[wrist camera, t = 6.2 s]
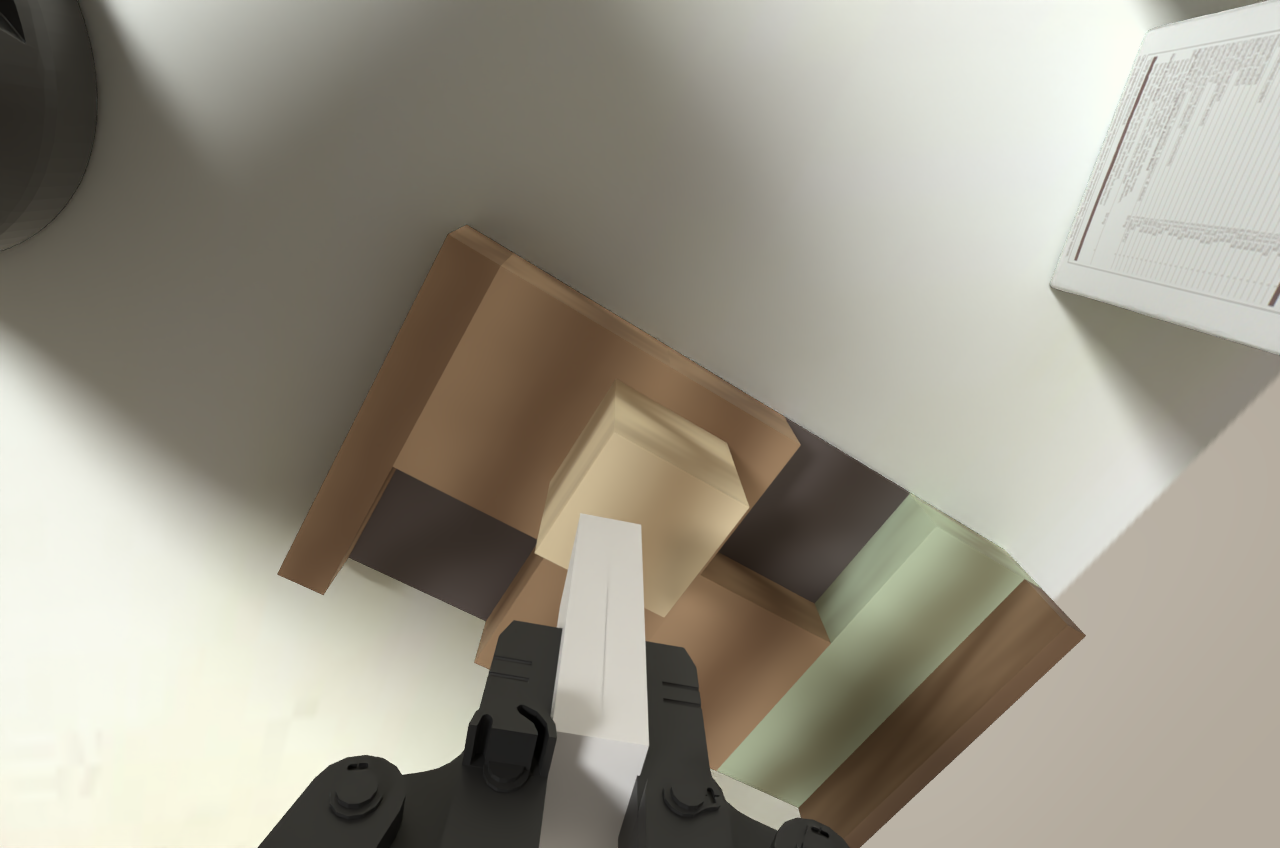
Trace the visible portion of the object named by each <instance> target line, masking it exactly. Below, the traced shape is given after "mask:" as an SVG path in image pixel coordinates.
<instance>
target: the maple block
mask: <svg viewBox="0 0 1280 848" xmlns="http://www.w3.org/2000/svg"><path fill="white" fill-rule="evenodd" d="M748 509H749V505H748V502H747V499H746V496H745V493H744V490H743V487H742V485H741V482H740V479H739V476H738V473H737V470H736V467H735V465H734V462H733V459H732V456H731V453H730V450H729V447H728V445H727V443H726V442H724V441H723V440H721V439H719V438H717V437H716V436H714V435H712V434H711V433H709V432H707V431H705V430H704V429H702V428H700V427H698V426H697V425H695V424H693V423H692V422H690V421H688V420H686V419H685V418H683V417H681V416H679V415H678V414H676V413H674V412H673V411H671V410H669V409H667V408H666V407H664V406H662V405H661V404H659V403H657V402H655V401H654V400H652V399H650V398H648V397H647V396H645V395H643V394H642V393H640V392H638V391H636V390H635V389H633V388H631V387H629V386H628V385H626V384H624V383H623V382H621V381H619V380H617V379H615V381H614V382H613V384H612V386H611V387H610V389H609V390H608V392H607V393H606V395H605V397H604V398H603V400H602V401H601V403H600V404H599V406H598V408H597V409H596V411H595V412H594V414H593V415H592V417H591V418H590V420H589V422H588V423H587V425H586V426H585V428H584V429H583V431H582V433H581V434H580V436H579V437H578V439H577V440H576V442H575V443H574V445H573V447H572V448H571V450H570V451H569V453H568V454H567V456H566V458H565V459H564V461H563V462H562V464H561V465H560V467H559V469H558V470H557V472H556V473H555V475H554V476H553V478H552V479H551V481H550V484H549V489H548V493H547V498H546V502H545V507H544V511H543V516H542V521H541V525H540V530H539V534H538V539H537V544H536V548H535V554H537V555H539V556H541V557H543V558H545V559H547V560H549V561H551V562H553V563H555V564H557V565H559V566H561V567H563V568H565V569H567V570H568V567H569V563H570V558H571V554H572V549H573V545H574V540H575V535H576V531H577V526H578V522H579V517H580V513H582V514H588V515H593V516H598V517H603V518H609V519H614V520H619V521H625V522H630V523H635V524H640V525H641V534H642V562H643V590H644V608H646V609H648V610H650V611H652V612H654V613H656V614H658V615H660V616H662V617H665V616H666V615H667V613H668V612H669V611H670V610H671V608H672V607H673V606H674V604H675V603H676V602H677V601H678V599H679V598H680V597H681V595H682V594H683V593H684V591H685V590H686V589H687V588H688V586H689V585H690V584H691V582H692V581H693V580H694V579H695V577H696V576H697V575H698V573H699V572H700V571H701V569H702V568H703V567H704V566H705V564H706V563H707V562H708V560H709V559H710V558H711V557H712V555H713V554H714V553H715V551H716V550H717V549H718V547H719V546H720V545H721V544H722V542H723V541H724V540H725V538H726V537H727V536H728V535H729V533H730V532H731V531H732V529H733V528H734V527H735V525H736V524H737V523H738V522H739V520H740V519H741V518H742V516H743V515H744V514H745V513H746V511H747V510H748Z"/></svg>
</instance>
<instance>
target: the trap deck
mask: <svg viewBox="0 0 1280 848" xmlns="http://www.w3.org/2000/svg"><path fill="white" fill-rule="evenodd" d="M615 379H617V380H619V381H621V382H623V383H624V384H626V385H628V386H629V387H631V388H633V389H635V390H636V391H638V392H640V393H642V394H643V395H645V396H647V397H648V398H650V399H652V400H654V401H655V402H657V403H659V404H661V405H662V406H664V407H666V408H667V409H669V410H671V411H673V412H674V413H676V414H678V415H679V416H681V417H683V418H685V419H686V420H688V421H690V422H692V423H693V424H695V425H697V426H698V427H700V428H702V429H704V430H705V431H707V432H709V433H711V434H712V435H714V436H716V437H717V438H719V439H721V440H723V441H724V442H726V443H727V445H728V447H729V450H730V453H731V456H732V459H733V462H734V465H735V467H736V470H737V473H738V476H739V479H740V482H741V485H742V487H743V490H744V493H745V496H746V499H747V502H748V505H749V509H748V510H747V511H746V513H745V514H744V515H743V516H742V518H741V519H740V520H739V522H738V523H737V524H736V525H735V527H734V528H733V529H732V531H731V532H730V533H729V535H728V536H727V537H726V538H725V540H724V541H723V542H722V544H721V545H720V546H719V547H718V549H717V550H716V551H715V553H714V554H713V555H712V557H711V558H710V559H709V560H708V562H707V563H706V564H705V566H704V567H703V568H702V569H701V571H700V572H699V573H698V575H697V576H696V577H695V579H694V580H693V581H692V582H691V584H690V585H689V586H688V588H687V589H686V590H685V591H684V593H683V594H682V595H681V597H680V598H679V599H678V601H677V602H676V603H675V604H674V606H673V607H672V608H671V610H670V611H669V612H668V613H667V615H666V616H665V617H662V616H660V615H658V614H656V613H654V612H652V611H650V610H648V609H646V608H644V618H645V641H649V642H654V643H660V644H666V645H672V646H678V647H683V648H685V650H686V651H687V653H688V654H689V656H690V658H691V659H692V661H693V663H694V664H695V666H696V668H697V675H698V683H699V692H700V698H701V709H702V713H703V720H704V728H705V735H706V743H707V750H708V758H709V765H710V768H711V769H713V770H715V771H718V772H720V773H722V774H724V775H726V776H729V777H731V778H733V779H735V780H738V781H740V782H742V783H744V784H747V785H749V786H751V787H753V788H755V789H758V790H760V791H762V792H764V793H767V794H769V795H771V796H773V797H776V798H778V799H780V800H782V801H785V802H787V803H789V804H791V805H793V806H796V807H798V808H799V812H800V816H801V818H805V819H813V820H815V821H817V822H820V823H822V824H824V825H826V826H828V827H830V828H831V829H832V830H833V831H835V832H836V833H837V834H838V835H839V836H841V837H842V838H843V839H844V840H845V842H846V843H847V844H848V846H849V847H850V848H860V847H861V846H862V845H863V844H864V843H865V842H866V841H867V840H868V839H869V838H871V837H872V836H873V835H874V834H875V833H876V832H877V831H878V830H879V829H880V828H881V827H882V826H883V825H884V824H885V823H887V822H888V821H889V820H890V819H891V818H892V817H893V816H894V815H895V814H896V813H897V812H898V811H899V810H900V809H901V808H903V807H904V806H905V805H906V804H907V803H908V802H909V801H910V800H911V799H912V798H913V797H914V796H915V795H916V794H917V793H919V792H920V791H921V790H922V789H923V788H924V787H925V786H926V785H927V784H928V783H929V782H930V781H931V780H933V779H934V778H935V777H936V776H937V775H938V774H939V773H940V772H941V771H942V770H943V769H944V768H945V767H946V766H947V765H949V764H950V763H951V762H952V761H953V760H954V759H955V758H956V757H957V756H958V755H959V754H960V753H961V752H962V751H963V750H965V749H966V748H967V747H968V746H969V745H970V744H971V743H972V742H973V741H974V740H975V739H976V738H977V737H978V736H979V735H980V734H982V733H983V732H984V731H985V730H986V729H987V728H988V727H989V726H990V725H991V724H992V723H993V722H994V721H995V720H997V718H999V717H1000V716H1001V715H1002V714H1003V713H1004V712H1005V711H1006V710H1007V709H1008V708H1009V707H1010V706H1012V705H1013V703H1015V702H1016V701H1017V700H1018V699H1019V698H1020V697H1021V696H1022V695H1023V694H1024V693H1025V692H1026V691H1028V690H1029V689H1030V688H1031V687H1032V686H1033V685H1034V684H1035V683H1036V682H1037V681H1038V680H1039V679H1040V678H1041V677H1042V676H1044V675H1045V674H1046V673H1047V672H1048V671H1049V670H1050V669H1051V668H1052V667H1053V666H1054V665H1055V664H1056V663H1057V662H1058V661H1059V660H1061V659H1062V657H1064V656H1065V655H1066V654H1067V653H1068V652H1069V651H1070V650H1071V649H1072V648H1073V647H1074V646H1076V645H1077V644H1078V643H1079V642H1080V641H1081V640H1082V639H1083V638H1084V637H1085V636H1086V635H1085V634H1084V633H1083V632H1082V631H1081V630H1080V629H1079V628H1078V627H1077V626H1076V625H1075V624H1074V623H1073V622H1072V620H1071V619H1070V618H1069V617H1068V616H1067V615H1066V614H1065V613H1064V612H1063V611H1062V610H1061V609H1060V608H1059V607H1058V606H1057V605H1056V604H1055V602H1054V601H1053V600H1052V599H1051V598H1050V597H1049V596H1048V595H1047V594H1046V593H1045V592H1044V591H1043V590H1042V589H1041V588H1040V587H1039V586H1038V585H1037V583H1036V582H1035V581H1034V580H1033V579H1032V578H1031V577H1030V576H1029V575H1028V574H1027V573H1026V572H1025V571H1024V570H1023V569H1022V568H1021V567H1020V565H1019V564H1018V563H1017V562H1016V561H1015V560H1014V559H1013V558H1012V557H1011V556H1010V555H1009V554H1008V553H1007V552H1006V551H1005V550H1004V549H1002V548H1001V547H999V546H997V545H996V544H994V543H992V542H991V541H989V540H987V539H986V538H984V537H983V536H981V535H979V534H978V533H976V532H974V531H973V530H971V529H969V528H968V527H966V526H964V525H963V524H961V523H959V522H958V521H956V520H954V519H953V518H951V517H949V516H948V515H946V514H945V513H943V512H941V511H940V510H938V509H936V508H935V507H933V506H931V505H930V504H928V503H926V502H925V501H923V500H921V499H920V498H918V497H916V496H915V495H913V494H911V493H910V492H908V491H906V490H905V489H903V488H902V487H900V486H898V485H897V484H895V483H893V482H892V481H890V480H888V479H887V478H885V477H883V476H882V475H880V474H878V473H877V472H875V471H873V470H872V469H870V468H868V467H867V466H865V465H864V464H862V463H860V462H859V461H857V460H855V459H854V458H852V457H850V456H849V455H847V454H845V453H844V452H842V451H840V450H839V449H837V448H835V447H834V446H832V445H830V444H829V443H827V442H825V441H824V440H822V439H821V438H819V437H817V436H816V435H814V434H812V433H811V432H809V431H807V430H806V429H804V428H802V427H801V426H799V425H797V424H796V423H794V422H792V421H791V420H789V419H787V418H786V417H784V416H783V415H781V414H779V413H778V412H776V411H774V410H773V409H771V408H769V407H768V406H766V405H764V404H763V403H761V402H759V401H758V400H756V399H754V398H753V397H751V396H749V395H748V394H746V393H744V392H743V391H741V390H740V389H738V388H736V387H735V386H733V385H731V384H730V383H728V382H726V381H725V380H723V379H721V378H720V377H718V376H716V375H715V374H713V373H711V372H710V371H708V370H706V369H705V368H703V367H702V366H700V365H698V364H697V363H695V362H693V361H692V360H690V359H688V358H687V357H685V356H683V355H682V354H680V353H678V352H677V351H675V350H673V349H672V348H670V347H668V346H667V345H665V344H663V343H662V342H660V341H659V340H657V339H655V338H654V337H652V336H650V335H649V334H647V333H645V332H644V331H642V330H640V329H639V328H637V327H635V326H634V325H632V324H630V323H629V322H627V321H625V320H624V319H622V318H621V317H619V316H617V315H616V314H614V313H612V312H611V311H609V310H607V309H606V308H604V307H602V306H601V305H599V304H597V303H596V302H594V301H592V300H591V299H589V298H587V297H586V296H584V295H582V294H581V293H579V292H578V291H576V290H574V289H573V288H571V287H569V286H568V285H566V284H564V283H563V282H561V281H559V280H558V279H556V278H554V277H553V276H551V275H549V274H548V273H546V272H544V271H543V270H541V269H540V268H538V267H536V266H535V265H533V264H531V263H530V262H528V261H526V260H525V259H523V258H521V257H520V256H518V255H516V254H515V253H513V252H511V251H510V250H508V249H506V248H505V247H503V246H501V245H500V244H498V243H497V242H495V241H493V240H492V239H490V238H488V237H487V236H485V235H483V234H482V233H480V232H478V231H477V230H475V229H473V228H472V227H470V226H468V225H465V226H463V227H461V228H459V229H457V230H455V231H453V232H451V233H449V234H448V235H447V237H446V239H445V241H444V243H443V245H442V247H441V249H440V251H439V253H438V255H437V257H436V259H435V261H434V263H433V265H432V267H431V269H430V271H429V273H428V275H427V277H426V279H425V281H424V283H423V285H422V287H421V289H420V291H419V293H418V295H417V297H416V299H415V301H414V303H413V305H412V307H411V309H410V311H409V313H408V315H407V317H406V319H405V321H404V323H403V325H402V327H401V329H400V331H399V333H398V335H397V337H396V339H395V341H394V343H393V345H392V346H391V348H390V350H389V352H388V354H387V356H386V358H385V360H384V362H383V364H382V366H381V368H380V370H379V372H378V374H377V376H376V378H375V380H374V382H373V384H372V386H371V388H370V390H369V392H368V394H367V396H366V398H365V400H364V402H363V404H362V406H361V408H360V410H359V412H358V414H357V416H356V418H355V420H354V422H353V424H352V426H351V428H350V430H349V432H348V434H347V436H346V438H345V440H344V442H343V444H342V446H341V448H340V450H339V452H338V454H337V456H336V458H335V460H334V462H333V464H332V466H331V468H330V470H329V472H328V474H327V476H326V478H325V480H324V482H323V484H322V486H321V488H320V490H319V492H318V494H317V496H316V498H315V500H314V502H313V504H312V506H311V508H310V510H309V512H308V514H307V516H306V518H305V520H304V522H303V524H302V526H301V528H300V530H299V532H298V534H297V536H296V538H295V540H294V542H293V544H292V546H291V548H290V550H289V552H288V554H287V556H286V558H285V560H284V562H283V564H282V566H281V568H280V570H279V572H278V574H277V575H280V576H282V577H284V578H286V579H289V580H291V581H293V582H295V583H297V584H300V585H302V586H304V587H306V588H309V589H311V590H313V591H315V592H318V593H320V594H322V595H324V593H325V592H326V590H327V589H328V587H329V586H330V584H331V583H332V581H333V580H334V578H335V577H336V575H337V574H338V572H339V571H340V569H341V568H342V566H343V565H344V563H345V562H346V560H347V559H348V557H349V558H351V559H353V560H355V561H358V562H360V563H362V564H364V565H366V566H368V567H371V568H373V569H375V570H377V571H379V572H381V573H383V574H386V575H388V576H390V577H392V578H394V579H396V580H398V581H401V582H403V583H405V584H407V585H409V586H411V587H414V588H416V589H418V590H420V591H422V592H424V593H426V594H429V595H431V596H433V597H435V598H437V599H439V600H442V601H444V602H446V603H448V604H450V605H452V606H454V607H457V608H459V609H461V610H463V611H465V612H467V613H470V614H472V615H474V616H476V617H478V618H480V619H482V620H485V621H486V623H485V627H484V630H483V633H482V637H481V640H480V644H479V647H478V651H477V654H476V658H475V661H474V663H476V664H478V665H481V666H483V667H485V668H487V669H490V667H491V663H492V660H493V656H494V652H495V648H496V645H497V641H498V637H499V635H500V634H501V633H502V632H503V631H504V630H505V629H506V628H507V627H508V626H509V625H510V623H511V622H512V621H513V620H516V621H522V622H528V623H534V624H540V625H546V626H551V627H557V623H558V616H559V610H560V604H561V599H562V594H563V590H564V585H565V581H566V576H567V572H568V570H567V569H565V568H563V567H561V566H559V565H557V564H555V563H553V562H551V561H549V560H547V559H545V558H543V557H541V556H539V555H537V554H535V548H536V544H537V539H538V534H539V530H540V525H541V521H542V516H543V511H544V507H545V502H546V498H547V493H548V489H549V484H550V481H551V479H552V478H553V476H554V475H555V473H556V472H557V470H558V469H559V467H560V465H561V464H562V462H563V461H564V459H565V458H566V456H567V454H568V453H569V451H570V450H571V448H572V447H573V445H574V443H575V442H576V440H577V439H578V437H579V436H580V434H581V433H582V431H583V429H584V428H585V426H586V425H587V423H588V422H589V420H590V418H591V417H592V415H593V414H594V412H595V411H596V409H597V408H598V406H599V404H600V403H601V401H602V400H603V398H604V397H605V395H606V393H607V392H608V390H609V389H610V387H611V386H612V384H613V382H614V381H615Z"/></svg>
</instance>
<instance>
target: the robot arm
mask: <svg viewBox="0 0 1280 848" xmlns="http://www.w3.org/2000/svg"><path fill="white" fill-rule="evenodd" d="M96 117H97V87H96V75H95V68H94V61H93V55H92V50H91V46H90V41H89V37H88V33H87V30H86V26H85V22H84V19H83V16H82V13H81V10H80V7H79V4H78V1H77V0H0V251H2V250H5V249H7V248H10V247H12V246H15V245H17V244H19V243H21V242H23V241H25V240H26V239H28V238H30V237H31V236H33V235H35V234H36V233H37V232H39V231H40V230H41V229H43V228H44V227H45V226H46V225H48V224H49V223H50V222H51V221H52V220H53V219H54V218H55V217H56V216H57V215H58V214H59V213H60V212H61V210H62V209H63V208H64V207H65V205H66V204H67V203H68V201H69V200H70V199H71V197H72V195H73V194H74V192H75V190H76V189H77V187H78V185H79V183H80V181H81V179H82V177H83V174H84V172H85V169H86V167H87V164H88V161H89V158H90V154H91V150H92V146H93V141H94V135H95V129H96ZM258 848H850V847H849V846H848V844H847V843H846V842H845V840H844V839H843V838H842V837H841V836H839V835H838V834H837V833H836V832H835V831H833V830H832V829H831V828H830V827H828V826H826V825H824V824H822V823H820V822H817V821H815V820H813V819H805V818H795V819H792V820H789V821H786V822H785V823H784V824H783V825H782V826H781V827H780V829H779V830H778V831H777V830H775V829H773V828H770V827H768V826H766V825H764V824H762V823H760V822H758V821H755V820H753V819H751V818H749V817H747V816H746V815H744V814H742V813H740V812H739V811H737V810H736V809H735V808H734V807H733V806H731V805H730V804H729V803H728V802H727V801H726V800H725V798H724V795H723V792H722V789H721V788H720V787H719V786H718V784H717V783H716V782H715V780H714V779H713V778H712V775H711V771H710V765H709V758H708V750H707V743H706V735H705V728H704V720H703V713H702V709H701V698H700V692H699V683H698V675H697V668H696V666H695V664H694V663H693V661H692V659H691V658H690V656H689V654H688V653H687V651H686V650H685V648H683V647H678V646H672V645H666V644H660V643H654V642H649V641H645V618H644V590H643V562H642V534H641V525H640V524H635V523H630V522H625V521H619V520H614V519H609V518H603V517H598V516H593V515H588V514H582V513H580V517H579V522H578V526H577V531H576V535H575V540H574V545H573V549H572V554H571V558H570V563H569V567H568V572H567V576H566V581H565V585H564V590H563V594H562V599H561V604H560V610H559V616H558V623H557V627H551V626H546V625H540V624H534V623H528V622H522V621H516V620H513V621H512V622H511V623H510V625H509V626H508V627H507V628H506V629H505V630H504V631H503V632H502V633H501V634H500V635H499V637H498V641H497V645H496V648H495V652H494V656H493V660H492V663H491V667H490V671H489V675H488V678H487V682H486V686H485V689H484V693H483V697H482V701H481V704H480V708H479V710H477V711H476V712H475V714H474V716H473V718H472V719H471V721H470V723H469V726H468V732H467V738H466V744H465V749H464V751H463V752H462V753H461V755H459V756H458V757H457V758H455V759H454V760H453V761H452V762H450V763H448V764H446V765H444V766H442V767H440V768H437V769H433V770H429V771H425V772H419V773H412V774H405V775H402V774H401V773H400V771H399V770H398V768H397V767H396V766H395V765H393V764H392V763H390V762H389V761H387V760H385V759H384V758H380V757H374V756H369V755H362V756H355V757H347V758H345V759H343V760H340V761H338V762H336V763H334V764H332V765H329V766H328V767H327V768H326V769H325V770H324V771H322V772H321V773H320V774H319V775H318V776H317V777H316V778H314V780H313V781H312V782H311V783H310V785H309V786H308V787H307V788H306V789H305V791H304V792H303V793H302V794H301V795H300V797H299V798H298V799H297V800H296V802H295V803H294V804H293V805H292V806H291V808H290V809H289V810H288V811H287V813H286V814H285V815H284V816H283V817H282V819H281V820H280V821H279V822H278V823H277V825H276V826H275V827H274V828H273V830H272V831H271V832H270V833H269V834H268V836H267V837H266V838H265V839H264V840H263V842H262V843H261V844H260V845H259V847H258Z"/></svg>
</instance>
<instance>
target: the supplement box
mask: <svg viewBox="0 0 1280 848" xmlns="http://www.w3.org/2000/svg"><path fill="white" fill-rule="evenodd" d="M1050 285H1051V287H1052V288H1055V289H1058V290H1061V291H1065V292H1069V293H1073V294H1076V295H1080V296H1084V297H1087V298H1091V299H1094V300H1097V301H1101V302H1104V303H1107V304H1111V305H1114V306H1117V307H1121V308H1124V309H1127V310H1130V311H1134V312H1137V313H1140V314H1143V315H1147V316H1150V317H1153V318H1157V319H1160V320H1163V321H1166V322H1170V323H1173V324H1176V325H1180V326H1183V327H1186V328H1189V329H1193V330H1196V331H1199V332H1203V333H1206V334H1209V335H1213V336H1216V337H1219V338H1222V339H1226V340H1229V341H1233V342H1236V343H1240V344H1243V345H1247V346H1250V347H1253V348H1257V349H1260V350H1263V351H1267V352H1270V353H1273V354H1276V355H1279V356H1280V0H1268V1H1264V2H1259V3H1255V4H1251V5H1247V6H1243V7H1239V8H1235V9H1230V10H1226V11H1222V12H1218V13H1214V14H1209V15H1204V16H1199V17H1195V18H1191V19H1187V20H1184V21H1179V22H1174V23H1170V24H1166V25H1162V26H1158V27H1155V28H1153V29H1151V30H1148V32H1147V33H1146V34H1145V36H1144V38H1143V41H1142V43H1141V46H1140V49H1139V51H1138V54H1137V56H1136V59H1135V62H1134V64H1133V67H1132V69H1131V72H1130V75H1129V77H1128V80H1127V83H1126V85H1125V88H1124V90H1123V93H1122V96H1121V98H1120V101H1119V104H1118V106H1117V109H1116V111H1115V114H1114V117H1113V119H1112V122H1111V124H1110V127H1109V130H1108V132H1107V135H1106V137H1105V140H1104V143H1103V145H1102V148H1101V150H1100V153H1099V156H1098V158H1097V161H1096V163H1095V166H1094V169H1093V171H1092V174H1091V177H1090V179H1089V182H1088V184H1087V187H1086V190H1085V192H1084V195H1083V198H1082V200H1081V203H1080V205H1079V208H1078V211H1077V213H1076V216H1075V219H1074V221H1073V224H1072V226H1071V229H1070V232H1069V234H1068V237H1067V240H1066V242H1065V245H1064V247H1063V250H1062V253H1061V255H1060V258H1059V260H1058V263H1057V266H1056V268H1055V271H1054V274H1053V276H1052V279H1051V281H1050Z"/></svg>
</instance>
